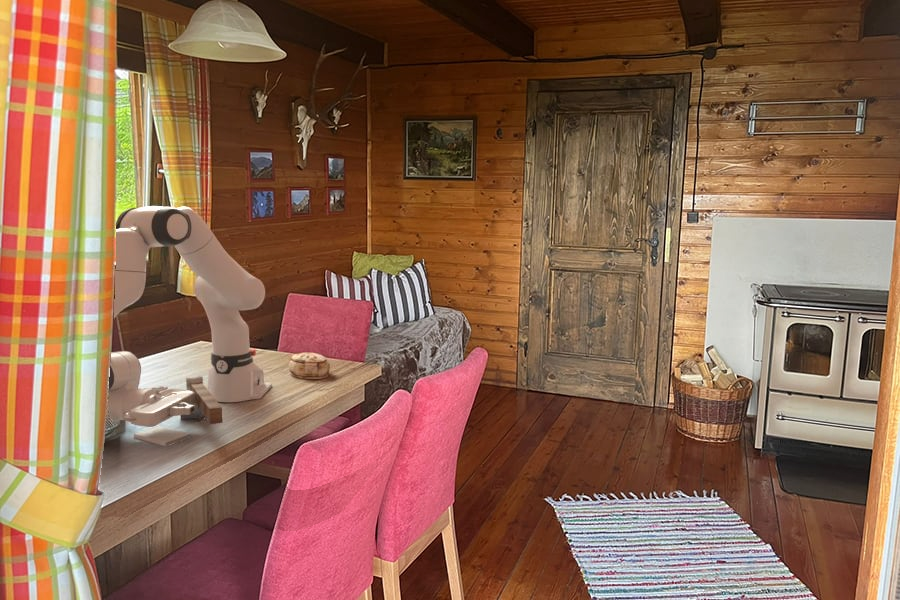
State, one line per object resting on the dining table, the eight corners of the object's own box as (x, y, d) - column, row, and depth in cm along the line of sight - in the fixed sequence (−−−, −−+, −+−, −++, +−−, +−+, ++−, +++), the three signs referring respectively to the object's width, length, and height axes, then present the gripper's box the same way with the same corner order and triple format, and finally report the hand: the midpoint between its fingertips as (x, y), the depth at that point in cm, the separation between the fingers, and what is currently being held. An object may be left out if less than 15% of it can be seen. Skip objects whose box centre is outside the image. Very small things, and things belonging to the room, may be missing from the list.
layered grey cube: (192, 413, 209) (191, 393, 208) (211, 414, 207) (210, 394, 206) (180, 419, 203) (179, 399, 202) (200, 421, 202) (199, 400, 201)
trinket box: (326, 380, 245) (326, 358, 244) (283, 380, 245) (282, 357, 244) (334, 370, 258) (333, 349, 257) (292, 370, 259) (291, 348, 257)
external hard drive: (165, 448, 182) (133, 439, 189) (191, 439, 189) (160, 430, 196) (165, 442, 182) (133, 433, 188) (191, 433, 189) (159, 424, 195)
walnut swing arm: (185, 394, 205) (184, 377, 204) (201, 392, 207) (200, 375, 206) (207, 424, 179) (206, 405, 179) (225, 422, 182) (224, 403, 181)
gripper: (117, 405, 176) (168, 410, 174) (165, 383, 196) (212, 387, 194) (118, 430, 177) (169, 435, 175) (166, 406, 197) (213, 410, 195)
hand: (192, 410), depth 184 cm, fingers closed
